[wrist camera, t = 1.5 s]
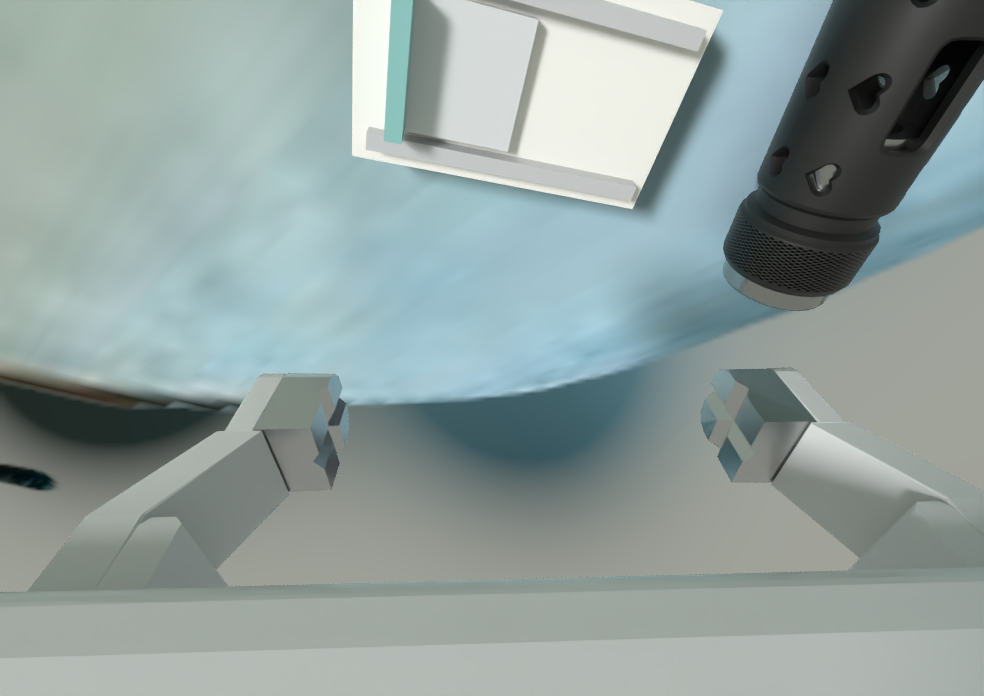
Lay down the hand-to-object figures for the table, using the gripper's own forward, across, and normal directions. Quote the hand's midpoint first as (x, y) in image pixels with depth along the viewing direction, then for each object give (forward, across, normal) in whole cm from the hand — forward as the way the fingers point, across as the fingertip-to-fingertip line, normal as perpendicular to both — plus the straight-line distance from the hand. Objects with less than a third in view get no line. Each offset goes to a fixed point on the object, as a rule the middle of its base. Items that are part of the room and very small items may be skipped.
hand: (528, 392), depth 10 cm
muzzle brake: (+30, -24, -3) cm, 38 cm away
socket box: (+29, -2, -4) cm, 29 cm away
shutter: (+23, +2, -4) cm, 24 cm away
